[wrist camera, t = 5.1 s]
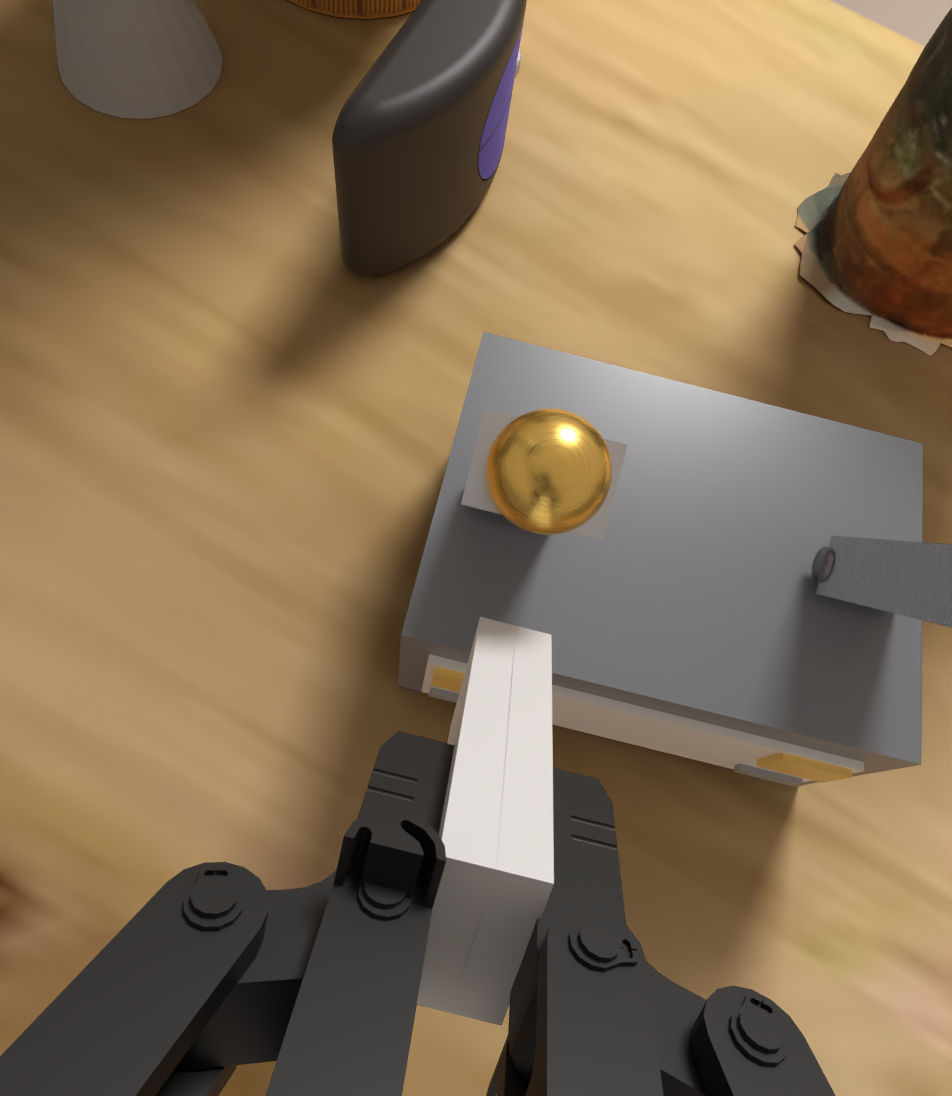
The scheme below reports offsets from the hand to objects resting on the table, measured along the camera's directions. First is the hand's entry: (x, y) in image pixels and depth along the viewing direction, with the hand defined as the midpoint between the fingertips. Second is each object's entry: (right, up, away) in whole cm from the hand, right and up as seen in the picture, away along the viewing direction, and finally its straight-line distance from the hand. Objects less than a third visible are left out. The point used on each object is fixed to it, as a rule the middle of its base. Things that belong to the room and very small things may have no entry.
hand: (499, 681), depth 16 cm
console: (+6, 0, +18) cm, 19 cm away
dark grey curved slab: (-3, +23, +26) cm, 35 cm away
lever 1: (+1, +5, +11) cm, 12 cm away
